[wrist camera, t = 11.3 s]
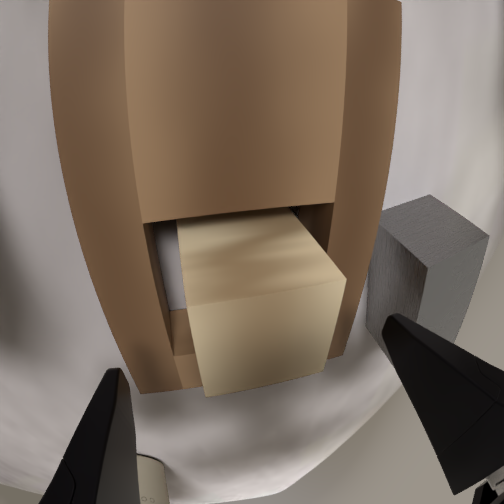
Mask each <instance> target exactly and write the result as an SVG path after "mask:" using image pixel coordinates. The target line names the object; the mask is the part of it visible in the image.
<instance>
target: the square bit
mask: <svg viewBox="0 0 504 504" xmlns="http://www.w3.org/2000/svg"><path fill="white" fill-rule="evenodd" d="M176 220H177V231H178V241H179V250H180V259H181V267H182V276H183V284H184V291H185V299H186V306H187V312H188V317H189V322H190V327H191V333H192V338H193V342H194V347H195V352H196V357H197V362H198V366H199V371H200V375H201V380H202V384H203V388H204V393H205V397H212V396H218V395H223V394H229V393H234V392H239V391H244V390H249V389H254V388H259V387H263V386H268V385H272V384H276V383H280V382H285V381H289V380H293V379H296V378H300V377H304V376H308V375H311V374H315V373H319V372H322V371H323V370H324V366H325V363H326V359H327V356H328V352H329V349H330V345H331V341H332V337H333V334H334V330H335V326H336V322H337V318H338V314H339V310H340V306H341V302H342V298H343V293H344V289H345V284H346V280H347V279H346V278H345V276H344V275H343V274H342V273H341V271H340V270H339V269H338V267H337V266H336V265H335V264H334V262H333V261H332V260H331V259H330V258H329V256H328V255H327V254H326V253H325V251H324V250H323V249H322V248H321V246H320V245H319V244H318V243H317V242H316V240H315V239H314V238H313V237H312V235H311V234H310V233H309V232H308V231H307V229H306V228H305V227H304V226H303V225H302V223H301V222H300V221H299V220H298V219H297V217H296V216H295V215H294V214H293V213H292V212H291V210H290V209H289V208H288V207H276V208H266V209H257V210H247V211H238V212H229V213H220V214H212V215H203V216H195V217H187V218H179V219H176Z"/></svg>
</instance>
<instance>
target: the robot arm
mask: <svg viewBox="0 0 504 504" xmlns="http://www.w3.org/2000/svg"><path fill="white" fill-rule="evenodd" d="M382 338H383V340H384V343H385V345H386V348H387V350H388V353H389V355H390V358H391V360H392V363H393V365H394V368H395V370H396V372H397V374H398V376H399V378H400V380H401V382H402V384H403V386H404V388H405V390H406V392H407V394H408V396H409V398H410V400H411V402H412V404H413V406H414V408H415V410H416V412H417V414H418V416H419V418H420V420H421V422H422V425H423V427H424V428H425V431H426V433H427V435H428V437H429V440H430V442H431V444H432V446H433V448H434V450H435V453H436V455H437V458H438V460H439V462H440V464H441V466H442V469H443V471H444V474H445V476H446V478H447V481H448V483H449V486H450V488H451V490H452V493H453V495H456V494H458V493H460V492H462V491H464V490H465V489H467V488H469V487H471V486H473V485H474V484H476V483H477V482H479V481H481V480H483V479H484V478H486V481H484V482H483V483H482V484H481V485H480V486H479V487H477V488H476V490H475V494H474V498H473V502H472V504H504V371H502V370H501V369H499V368H497V367H494V366H492V365H490V364H489V363H487V362H485V361H483V360H481V359H480V358H478V357H476V356H474V355H472V354H471V353H469V352H467V351H465V350H464V349H462V348H460V347H458V346H457V345H455V344H453V343H451V342H450V341H448V340H446V339H444V338H443V337H441V336H439V335H437V334H435V333H434V332H432V331H430V330H428V329H427V328H425V327H423V326H421V325H419V324H418V323H416V322H414V321H412V320H410V319H409V318H407V317H405V316H403V315H401V314H399V313H395V314H391V315H389V316H388V317H387V319H386V321H385V324H384V326H383V329H382ZM39 504H141V503H140V493H139V482H138V469H137V453H136V433H135V424H134V418H133V410H132V403H131V395H130V387H129V383H128V381H127V379H126V377H125V375H124V373H123V371H122V370H121V369H120V368H110V369H108V370H107V371H106V373H105V374H104V376H103V378H102V380H101V382H100V384H99V386H98V388H97V389H96V391H95V393H94V395H93V397H92V399H91V401H90V403H89V405H88V407H87V409H86V411H85V413H84V415H83V417H82V419H81V421H80V423H79V425H78V427H77V429H76V431H75V433H74V435H73V437H72V439H71V441H70V443H69V445H68V447H67V449H66V452H65V454H64V456H63V459H62V460H61V462H60V464H59V467H58V469H57V471H56V473H55V475H54V477H53V479H52V481H51V483H50V485H49V486H48V488H47V490H46V492H45V494H44V495H43V497H42V499H41V500H40V502H39Z"/></svg>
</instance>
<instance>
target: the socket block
mask: <svg viewBox="0 0 504 504" xmlns="http://www.w3.org/2000/svg"><path fill="white" fill-rule="evenodd" d="M401 35H402V7H401V2H400V1H397V0H49V20H48V53H49V75H50V89H51V100H52V109H53V118H54V126H55V133H56V139H57V146H58V152H59V157H60V163H61V168H62V173H63V178H64V183H65V187H66V192H67V196H68V200H69V204H70V208H71V212H72V216H73V220H74V224H75V228H76V231H77V235H78V238H79V242H80V245H81V248H82V252H83V255H84V258H85V261H86V264H87V267H88V270H89V273H90V276H91V279H92V282H93V285H94V288H95V291H96V293H97V296H98V299H99V301H100V304H101V307H102V309H103V312H104V314H105V317H106V319H107V322H108V324H109V327H110V329H111V332H112V334H113V336H114V339H115V341H116V343H117V345H118V348H119V350H120V352H121V354H122V357H123V359H124V361H125V363H126V365H127V367H128V369H129V372H130V374H131V376H132V378H133V380H134V382H135V384H136V386H137V388H138V390H139V392H140V394H146V393H156V392H165V391H173V390H181V389H188V388H195V387H201V386H203V384H202V380H201V375H200V371H199V366H198V362H197V357H196V352H195V347H194V342H193V338H192V333H191V327H190V322H189V317H188V312H187V309H181V310H173V311H169V307H168V303H167V298H166V294H165V289H164V284H163V279H162V274H161V269H160V264H159V259H158V253H157V248H156V242H155V237H154V231H153V225H152V222H157V221H164V220H172V219H179V218H187V217H195V216H203V215H212V214H220V213H229V212H238V211H247V210H257V209H266V208H276V207H287V206H298V205H300V206H299V219H298V220H299V221H300V222H301V223H302V225H303V226H304V227H305V228H306V229H307V231H308V232H309V233H310V234H311V235H312V237H313V238H314V239H315V240H316V242H317V243H318V244H319V245H320V246H321V248H322V249H323V250H324V251H325V253H326V254H327V255H328V256H329V258H330V259H331V260H332V261H333V262H334V264H335V265H336V266H337V267H338V269H339V270H340V271H341V273H342V274H343V275H344V276H345V278H346V279H347V280H346V284H345V289H344V293H343V298H342V302H341V306H340V310H339V314H338V318H337V322H336V326H335V330H334V334H333V337H332V341H331V345H330V349H329V352H328V356H327V359H331V358H334V357H338V356H341V355H343V353H344V350H345V347H346V344H347V341H348V338H349V334H350V331H351V328H352V325H353V322H354V318H355V315H356V312H357V308H358V305H359V301H360V298H361V294H362V291H363V287H364V284H365V280H366V276H367V272H368V268H369V264H370V260H371V256H372V252H373V248H374V244H375V239H376V235H377V230H378V226H379V221H380V216H381V211H382V206H383V201H384V196H385V190H386V185H387V179H388V173H389V167H390V161H391V154H392V147H393V139H394V132H395V123H396V114H397V104H398V93H399V80H400V64H401ZM327 359H326V360H327Z"/></svg>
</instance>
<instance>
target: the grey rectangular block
mask: <svg viewBox="0 0 504 504" xmlns="http://www.w3.org/2000/svg"><path fill="white" fill-rule="evenodd" d="M488 240H489V235H488V234H486V233H485V232H484V231H482V230H481V229H480V228H478V227H477V226H475V225H474V224H473V223H471V222H470V221H469V220H467V219H466V218H464V217H463V216H461V215H460V214H459V213H457V212H456V211H454V210H453V209H451V208H450V207H448V206H447V205H445V204H444V203H442V202H441V201H439V200H438V199H436V198H435V197H433V196H432V195H427V196H424V197H421V198H418V199H415V200H412V201H409V202H406V203H403V204H401V205H398V206H395V207H392V208H389V209H386V210H383V211H381V216H380V221H379V226H378V230H377V235H376V239H375V244H374V248H373V252H372V256H371V260H370V264H369V274H368V297H367V314H366V327H367V329H368V330H369V332H370V333H371V334H372V336H373V337H374V339H375V340H376V342H377V343H378V345H379V346H380V347H381V349H382V350H383V352H384V353H385V355H386V356H387V358H388V359H389V361H390V362H391V364H392V365H393V363H392V360H391V358H390V355H389V353H388V350H387V348H386V345H385V343H384V340H383V338H382V329H383V326H384V324H385V321H386V319H387V317H388V316H389V315H391V314H395V313H399V314H401V315H403V316H405V317H407V318H409V319H410V320H412V321H414V322H416V323H418V324H419V325H421V326H423V327H425V328H427V329H428V330H430V331H432V332H434V333H435V334H437V335H439V336H441V337H443V338H444V339H446V340H448V341H450V342H451V343H453V344H454V341H455V339H456V336H457V334H458V332H459V329H460V327H461V324H462V322H463V319H464V317H465V314H466V311H467V309H468V306H469V303H470V300H471V298H472V295H473V292H474V289H475V286H476V283H477V279H478V276H479V273H480V270H481V266H482V263H483V259H484V255H485V252H486V248H487V244H488ZM393 367H394V365H393Z"/></svg>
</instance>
